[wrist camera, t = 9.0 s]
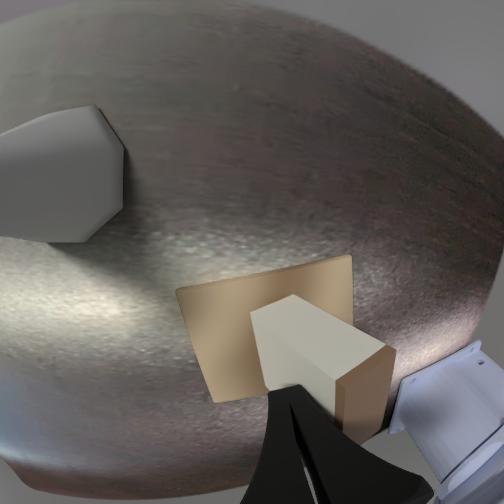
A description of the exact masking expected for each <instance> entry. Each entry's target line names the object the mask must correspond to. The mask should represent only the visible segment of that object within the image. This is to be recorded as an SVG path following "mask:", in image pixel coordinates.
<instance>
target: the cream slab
mask: <svg viewBox="0 0 504 504" xmlns="http://www.w3.org/2000/svg"><path fill="white" fill-rule="evenodd" d="M250 315H251V320H252V325H253V330H254V334H255V339H256V344H257V349H258V354H259V358H260V363H261V368H262V372H263V377H264V382H265V386H266V387H267V388H268V389H269V390H270V391H272V390H277V389H282V388H286V387H290V386H294V385H298V384H299V385H302V387H303V388H304V390H305V392H306V393H307V394H308V396H309V397H310V399H311V400H312V401H313V402H314V404H315V405H316V406H317V407H318V408H319V410H320V411H321V412H322V413H323V414H324V415H325V416H326V417H327V418H328V419H329V420H330V421H331V422H332V423H333V424H334V425H335V426H336V427H337V428H338V429H339V430H341V431H342V432H343V433H344V434H345V435H346V436H348V437H349V438H350V439H351V440H353V441H354V442H355V443H357V444H358V445H361V444H362V443H364V442H365V441H366V440H367V439H369V438H370V437H371V436H372V435H374V434H375V433H376V432H377V431H378V430H380V428H381V425H382V421H383V417H384V413H385V408H386V404H387V400H388V395H389V390H390V385H391V380H392V374H393V369H394V363H395V356H396V349H394V348H392V347H390V346H388V345H386V344H384V343H383V342H381V341H379V340H377V339H375V338H373V337H371V336H369V335H368V334H366V333H364V332H362V331H360V330H358V329H356V328H355V327H353V326H351V325H349V324H347V323H345V322H344V321H342V320H340V319H338V318H336V317H334V316H332V315H331V314H329V313H327V312H325V311H323V310H321V309H320V308H318V307H316V306H314V305H312V304H311V303H309V302H307V301H305V300H303V299H301V298H300V297H298V296H296V295H294V294H293V295H290V296H288V297H286V298H283V299H281V300H279V301H276V302H274V303H271V304H269V305H267V306H264V307H262V308H259V309H257V310H254V311H252V312H250Z"/></svg>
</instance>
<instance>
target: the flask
mask: <svg viewBox="0 0 504 504" xmlns="http://www.w3.org/2000/svg"><path fill="white" fill-rule="evenodd" d="M123 155H124V147H123V145H122V144H121V142H120V141H119V139H118V138H117V136H116V135H115V133H114V132H113V130H112V129H111V127H110V126H109V124H108V123H107V121H106V120H105V118H104V117H103V115H102V114H101V112H100V111H99V109H98V108H97V106H96V105H90V106H84V107H78V108H73V109H67V110H62V111H58V112H53V113H49V114H46V115H43V116H41V117H38V118H36V119H34V120H31V121H29V122H27V123H24V124H22V125H20V126H18V127H16V128H13V129H11V130H9V131H6V132H4V133H2V134H0V236H2V237H12V238H18V239H24V240H29V241H36V242H68V243H85V242H86V241H87V240H88V239H89V238H90V237H91V236H92V235H93V234H95V233H96V232H97V231H98V230H99V229H100V228H101V227H102V226H103V225H104V224H105V223H107V222H108V221H109V220H110V219H111V218H112V217H113V216H114V215H116V214H117V213H118V212H119V211H120V210H121V209H122V208H123Z"/></svg>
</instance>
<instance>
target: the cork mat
mask: <svg viewBox="0 0 504 504" xmlns="http://www.w3.org/2000/svg"><path fill="white" fill-rule="evenodd" d="M293 294H294V295H296V296H298V297H300V298H301V299H303V300H305V301H307V302H309V303H311V304H312V305H314V306H316V307H318V308H320V309H321V310H323V311H325V312H327V313H329V314H331V315H332V316H334V317H336V318H338V319H340V320H342V321H344V322H345V323H347V324H349V325H351V326H353V277H352V256H350V255H349V254H347V255H343V256H338V257H334V258H329V259H324V260H320V261H315V262H311V263H306V264H301V265H296V266H292V267H287V268H282V269H277V270H272V271H267V272H262V273H258V274H253V275H248V276H243V277H237V278H232V279H227V280H222V281H217V282H212V283H207V284H201V285H196V286H191V287H185V288H180V289H177V290H176V295H177V299H178V302H179V305H180V308H181V312H182V315H183V318H184V321H185V324H186V327H187V330H188V333H189V336H190V339H191V342H192V345H193V348H194V351H195V353H196V356H197V359H198V362H199V365H200V367H201V370H202V373H203V375H204V378H205V381H206V383H207V386H208V388H209V391H210V393H211V396H212V399H213V401H214V403H217V402H224V401H231V400H237V399H243V398H248V397H254V396H259V395H264V394H268V392H269V391H270V390H269V389H268V388H267V387H266V386H265V382H264V377H263V372H262V368H261V363H260V358H259V354H258V349H257V344H256V339H255V334H254V330H253V325H252V320H251V315H250V312H252V311H254V310H257V309H259V308H262V307H264V306H267V305H269V304H271V303H274V302H276V301H279V300H281V299H283V298H286V297H288V296H290V295H293Z"/></svg>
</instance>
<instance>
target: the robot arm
mask: <svg viewBox="0 0 504 504" xmlns="http://www.w3.org/2000/svg"><path fill="white" fill-rule="evenodd" d="M480 346H481V341H479V340H477V341H475V342H473V343H472V344H470V345H468V346H466V347H465V348H463V349H461V350H459V351H458V352H456V353H454V354H452V355H450V356H448V357H447V358H445V359H443V360H441V361H439V362H437V363H435V364H433V365H431V366H429V367H427V368H425V369H422V370H420V371H418V372H416V373H414V374H412V375H409V376H407V377H405V378H404V379H403V380H402V381H401V384H400V388H399V392H398V397H397V401H396V404H395V408H394V412H393V416H392V419H391V423H390V426H389V429H388V433H389V435H393V434H395V433H397V432H399V431H401V430H404V429H406V430H407V431H408V433H409V434H410V436H411V437H412V439H413V440H414V442H415V444H416V445H417V447H418V448H419V450H420V452H421V453H422V455H423V456H424V458H425V459H426V461H427V463H428V464H429V466H430V467H431V469H432V471H433V472H434V474H435V476H436V477H437V479H438V481H439V482H440V483H441V485H439V486H438V487H437V488H436V489H435V490H434V491H435V492H436V494H437V497H436V499H435V500H434V503H433V504H504V371H503V370H502V369H501V368H500V367H499V366H498V365H497V364H496V363H495V362H493V361H492V360H491V359H490V358H489V357H488V356H486V355H485V354H484V353H483V352H482V351H481V350H480ZM296 442H297V445H298V448H299V450H300V453H301V455H302V458H303V460H304V463H305V465H306V468H307V470H308V473H309V475H310V478H311V481H312V484H313V487H314V491H315V494H316V498H317V501H318V504H426V503H427V502H428V501H429V500H430V499H431V498H432V497H433V496H434V491H433V489H432V487H431V486H430V485H429V484H428V483H427V481H426V480H425V479H424V478H423V477H422V476H420V475H417V474H414V473H412V472H409V471H406V470H404V469H401V468H399V467H397V466H395V465H392V464H390V463H388V462H386V461H384V460H383V459H381V458H379V457H377V456H375V455H374V454H372V453H370V452H368V451H367V450H365V449H364V448H362V447H361V446H360V445H358V444H357V443H355V442H354V441H353V440H351V439H350V438H349V437H348V436H346V435H345V434H344V433H343V432H342V431H341V430H339V429H338V428H337V427H336V426H335V425H334V424H333V423H332V422H331V421H330V420H329V419H328V418H327V417H326V416H325V415H324V414H323V413H322V412H321V411H320V410H319V408H318V407H317V406H316V405H315V404H314V402H313V401H312V400H311V399H310V397H309V396H308V394H307V393H306V392H305V390H304V388H303V387H302V385H299V384H298V385H294V386H290V387H286V388H282V389H277V390H272V391H269V392H268V420H267V427H266V433H265V438H264V442H263V447H262V451H261V454H260V458H259V461H258V464H257V467H256V470H255V472H254V475H253V477H252V480H251V482H250V485H249V487H248V489H247V491H246V493H245V495H244V497H243V499H242V501H241V503H240V504H315V502H314V499H313V496H312V493H311V490H310V487H309V484H308V481H307V478H306V475H305V471H304V468H303V465H302V462H301V459H300V455H299V452H298V449H297V445H296Z"/></svg>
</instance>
